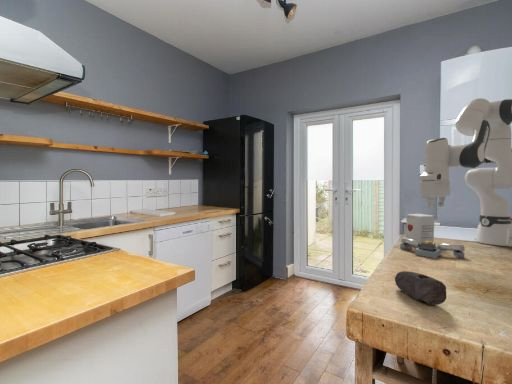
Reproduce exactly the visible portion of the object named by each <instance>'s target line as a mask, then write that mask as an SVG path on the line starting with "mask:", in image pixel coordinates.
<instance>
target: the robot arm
mask: <svg viewBox="0 0 512 384" xmlns="http://www.w3.org/2000/svg"><path fill="white" fill-rule="evenodd" d="M511 124H512V99H510V98H508V99H507V98H506V99H503V100H496V101H495V100H494V101H489V100H488V99H486V98H482V97H481V98H480V97H479V98H475V99H472V100H470V102H469V103H467V105H466V106H465V107H464V108H463V109H462V110H461V112H460V113H459V114H458V116H457V118H456V120H455V128H456V130H457V132H458V133H460V134H462V135H464V136H468V137H473V139H472V141H471V142H470V143H466V144H461V145H459V144H458V145H450V144H449V141H448V138H446V137H438V138H433V139H428V141H427V142H426V145H425V150H424V162H425V165H424V166H425V167H424V172H423V173H422V174H420V175H419V181H420V195H421V197H422V199H426V202H427V205H428V206H427V207H428V209H434V208H435V203H434V198H438V200H439V201H438V203H437V206H438V207H444V206H445V200H446V196H450V195H451V183H450V169H454V168H455V169H458V168H459V169H460V168H466V169H467V168H468V169H469V170H468V171H466V173H465V175H464V182H465V184H466V186H467V187H469V188H470V189H472V190H473V191H474V192H475V193H476V195H477V196H478V198H479V202H480V214H479V216H478V217H479V218H478V220H479V224H478V225H477V229H476V237H474V240H475V242H477V243H481V244H486V245H491V246H500V247H501V246H503V247H510V248H511V247H512V216H510V201H509V199H507V198H506V197H503V196H501V195H498V194H497V193H496V192H495V190H497V189H498V190H512V129H511ZM485 159H486V160H487V161H488V160H489V161H491V162H494V163H496V166H497V167H496V166H495V167H479V166H480V165H482V164H483V163H484V161H485ZM477 167H479V168H477Z"/></svg>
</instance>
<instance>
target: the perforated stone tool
mask: <svg viewBox="0 0 512 384" xmlns="http://www.w3.org/2000/svg"><path fill="white" fill-rule="evenodd" d="M394 281H395V285H396V287H397V288H398V289H399V290H400V291H402V292H403V293H405V294H407V295H408V296H409V297H411V298H413V299H414V300H415V301H422V302H425V303H426V304H427V305H430V306H432V305H441V304H443V303H445V302H446V300H447V294H448V293H447V287H446V285H445V284H444V282H442V281H441V280H438V279H436V278H433V277H431V276H428V275H425V274H422V273H418V272H414V271H410V270H409V271H406V270H402V271H399V272H397V273H396V274H395V276H394Z"/></svg>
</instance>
